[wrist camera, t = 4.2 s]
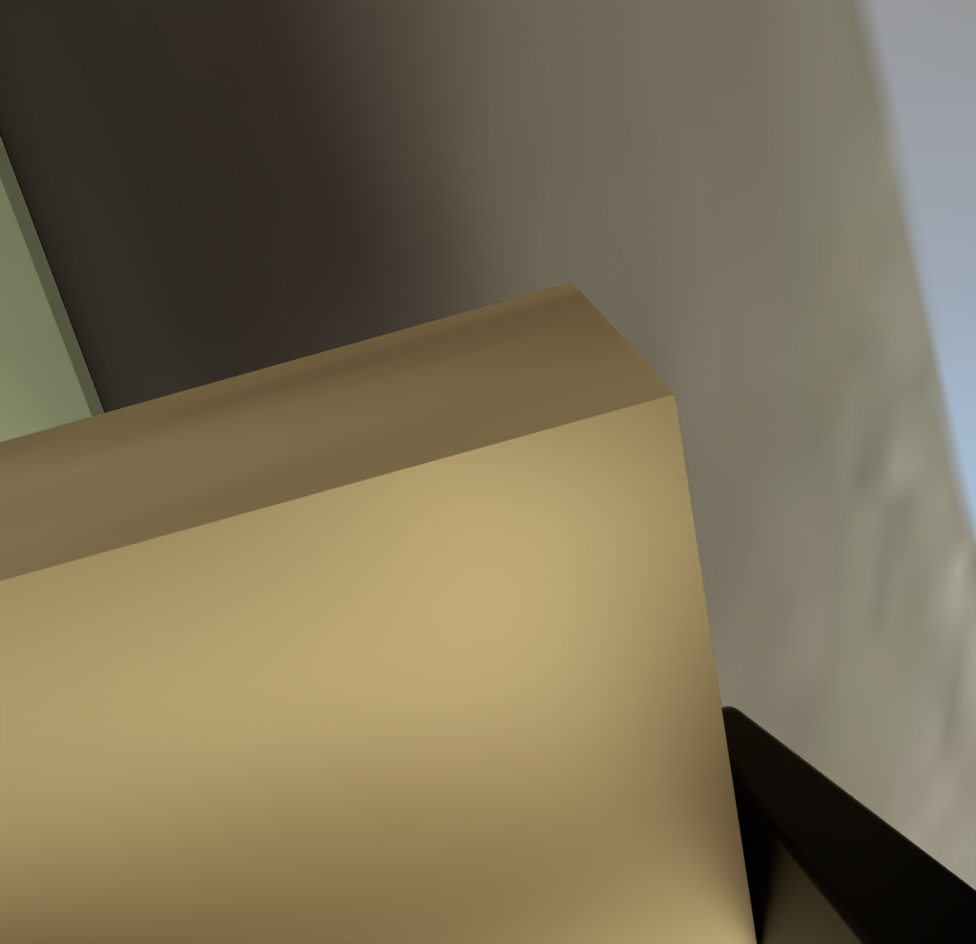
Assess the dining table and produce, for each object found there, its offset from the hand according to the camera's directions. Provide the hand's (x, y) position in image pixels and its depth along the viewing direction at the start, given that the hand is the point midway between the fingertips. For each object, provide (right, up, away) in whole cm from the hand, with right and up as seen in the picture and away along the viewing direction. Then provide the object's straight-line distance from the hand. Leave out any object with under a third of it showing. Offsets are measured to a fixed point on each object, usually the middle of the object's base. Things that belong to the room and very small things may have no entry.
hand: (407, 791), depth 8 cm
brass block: (0, +1, +1) cm, 1 cm away
